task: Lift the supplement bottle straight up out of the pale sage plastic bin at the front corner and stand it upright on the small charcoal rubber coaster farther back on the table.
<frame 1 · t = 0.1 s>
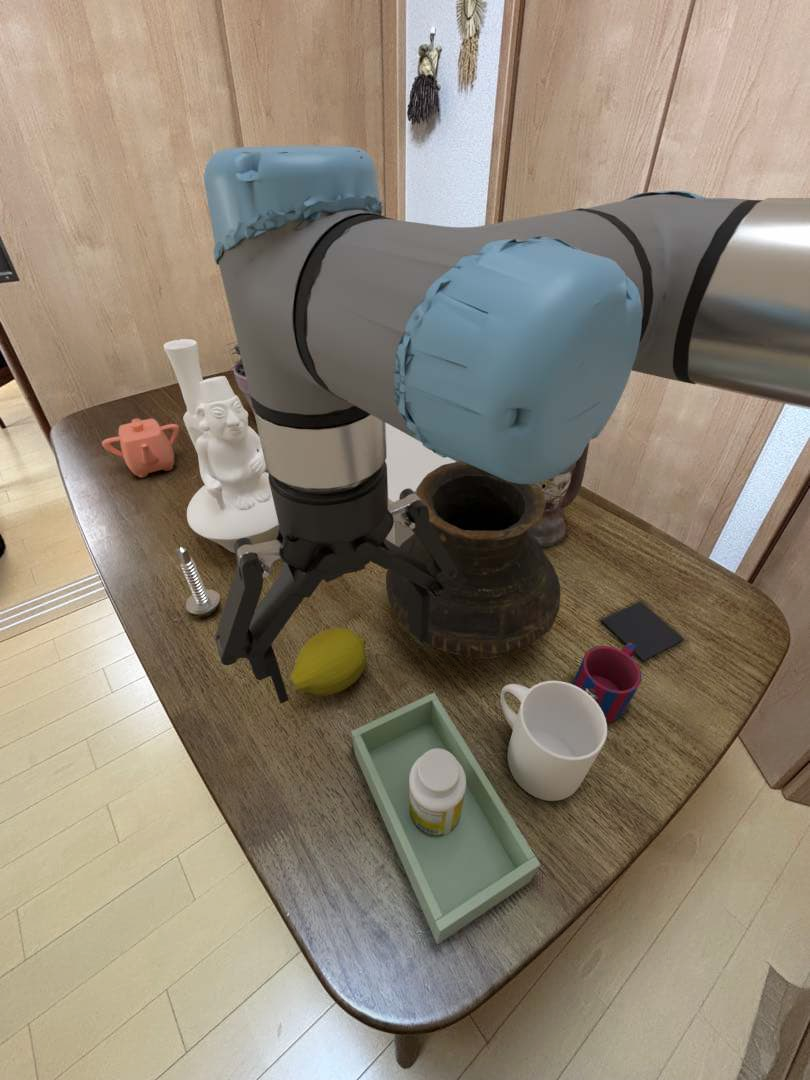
hand: (352, 659, 44), 19 cm above the table, tool pointing down, fingers open, 13 cm apart
bin: (434, 811, 52), on the table
mug: (532, 753, 57), on the table
screw: (207, 611, 74), on the table
box: (389, 480, 100), on the table
ceramic pot: (467, 616, 73), on the table
potted plant: (274, 420, 120), on the table
supplement bottle: (434, 810, 52), resting on bin
teapot: (154, 466, 104), on the table
lemon: (333, 679, 65), on the table
white sculpted figure: (248, 531, 88), on the table
cup: (604, 692, 63), on the table
flask: (355, 420, 120), on the table
coaster: (641, 631, 70), on the table
lantern: (533, 528, 88), on the table
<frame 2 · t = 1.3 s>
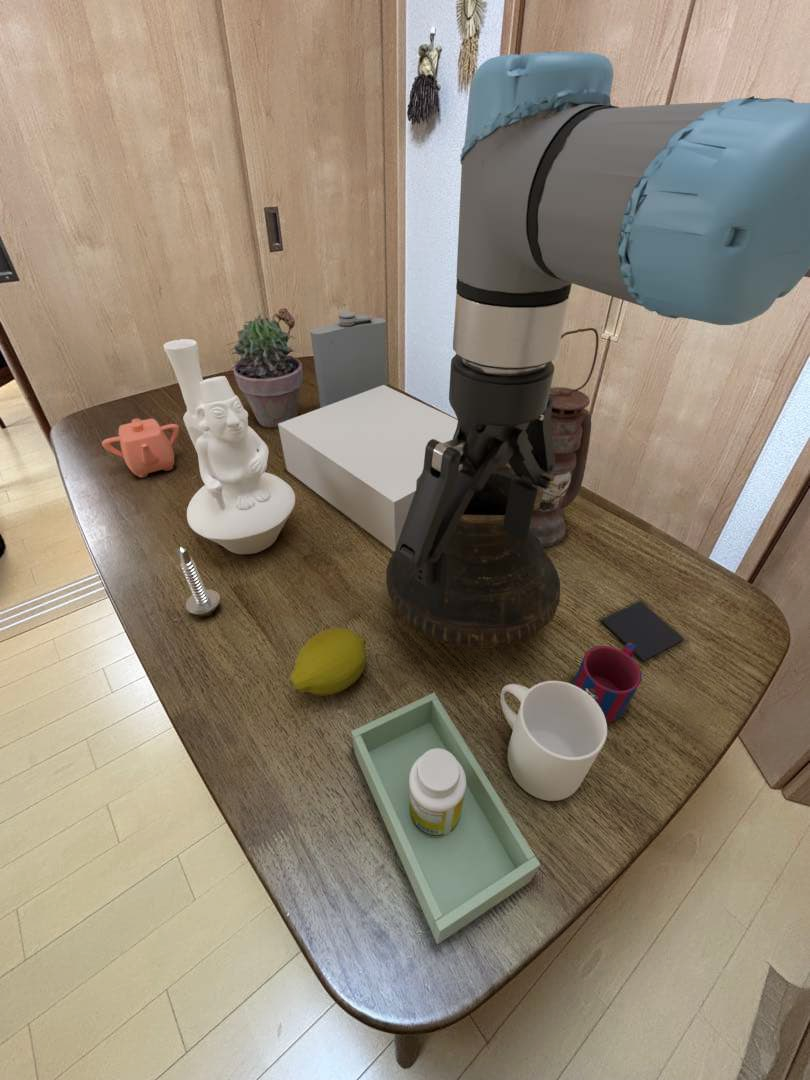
hand: (475, 565, 49), 22 cm above the table, tool pointing down, fingers open, 13 cm apart
ceramic pot: (467, 614, 72), on the table, touching gripper
everything else where it was.
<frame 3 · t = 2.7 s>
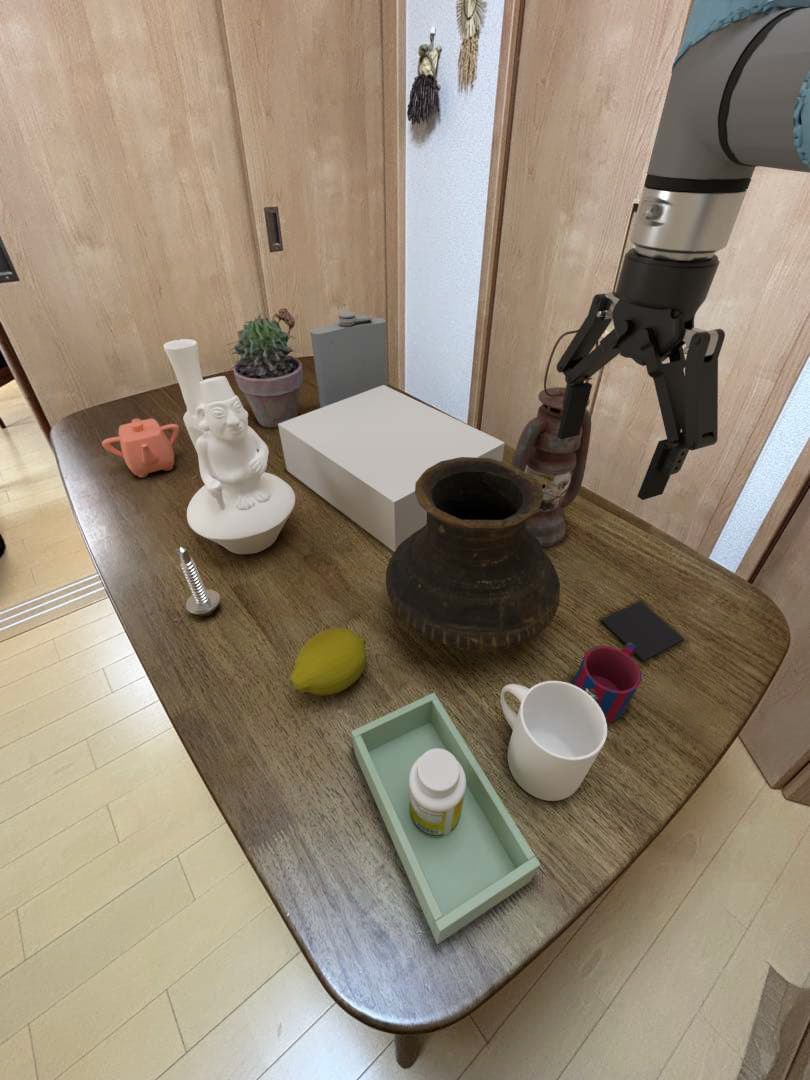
hand: (605, 463, 55), 27 cm above the table, tool pointing down, fingers open, 13 cm apart
ceramic pot: (467, 615, 73), on the table
everything else where it was.
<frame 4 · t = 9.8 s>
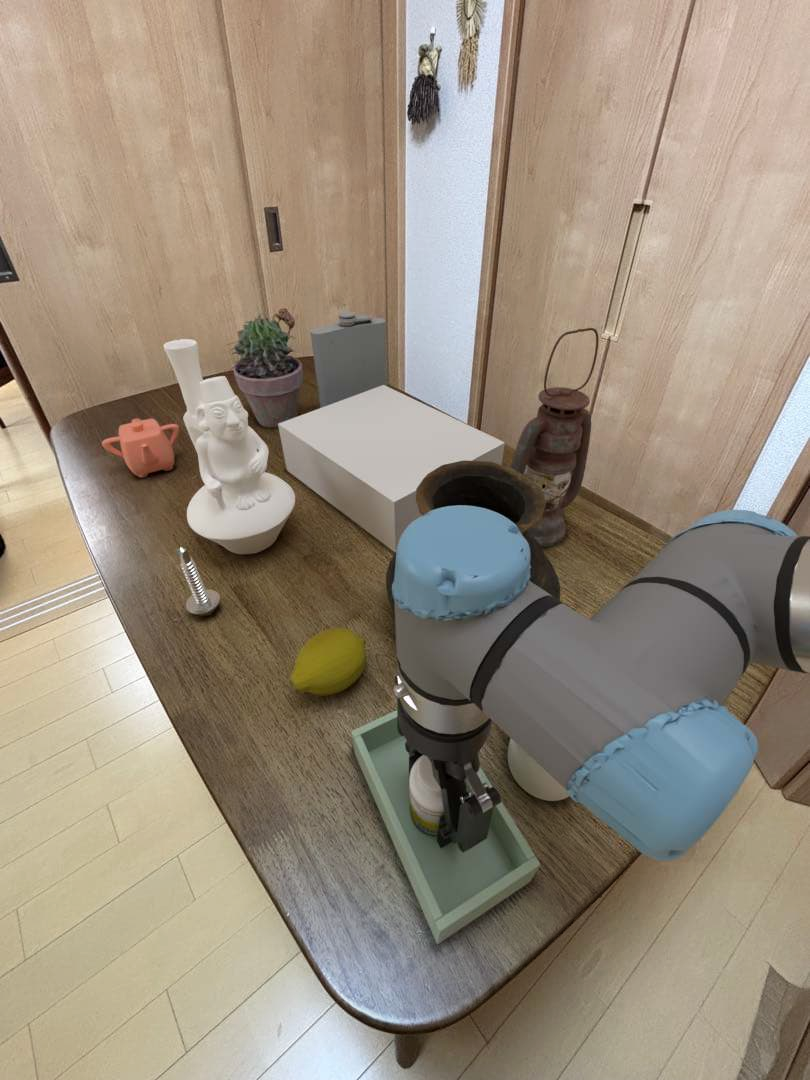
hand: (435, 808, 51), 1 cm above the table, tool pointing down, fingers closed on supplement bottle, 6 cm apart
supplement bottle: (434, 810, 52), resting on bin, touching gripper
when the fingers open (1 cm above the table, at t = 20.6 s): supplement bottle stays where it is, resting on coaster.
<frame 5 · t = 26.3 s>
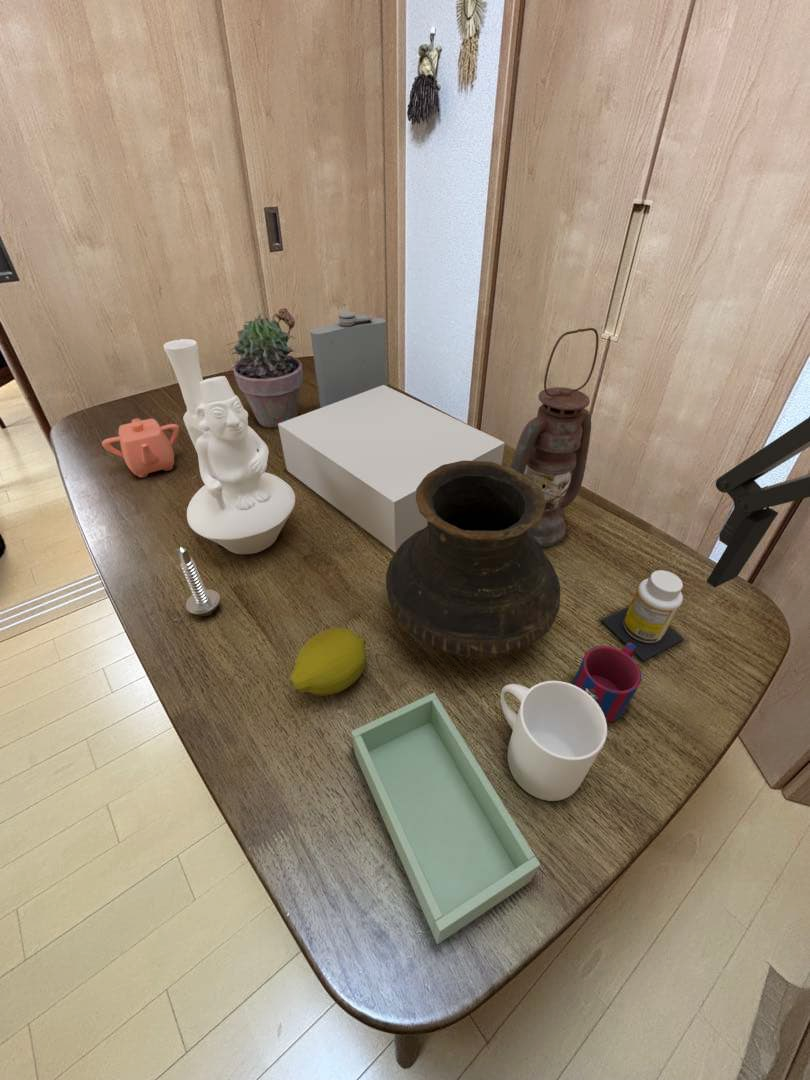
hand: (807, 641, 34), 29 cm above the table, tool pointing down, fingers open, 13 cm apart
supplement bottle: (641, 630, 70), resting on coaster
everything else where it was.
at the end: supplement bottle 0.0 cm off-centre on the coaster, point 0.2 cm above the coaster's base; supplement bottle tilted 0°; the gripper is holding nothing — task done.
